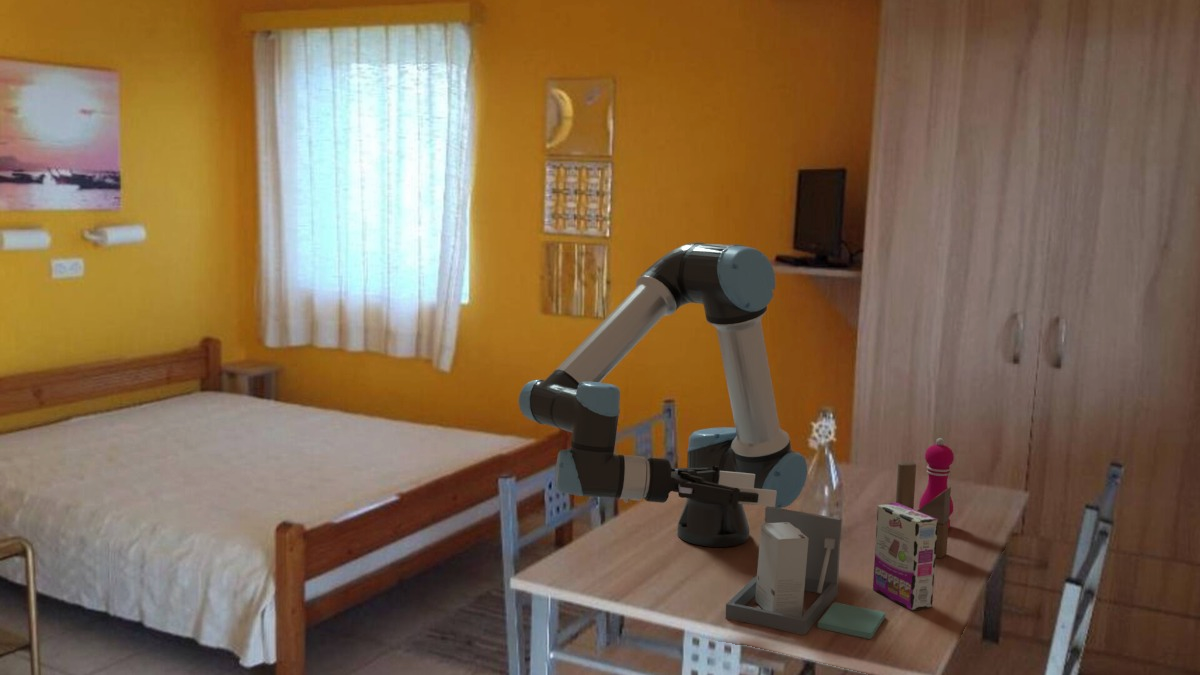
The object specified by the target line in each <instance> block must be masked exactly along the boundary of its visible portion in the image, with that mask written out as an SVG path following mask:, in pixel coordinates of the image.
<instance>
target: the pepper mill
mask: <svg viewBox="0 0 1200 675" xmlns="http://www.w3.org/2000/svg"><path fill="white" fill-rule="evenodd" d="M924 459H925V462H926V463H927V464H928V465H927V466H926V473H927V476H928V482H927V485H926V489H925V490H924V491H923V493H922V495H921V497H920V500H919V504H918V510H919V509H921V508H922V507H923V506H925V505H926V504H927V503H929V502H930V501H931V500H933V499H934V498H935V497H937V496H938V495H939V494H941V493H942V492H943V491H945V490H946V489H948V488H949V487H948V477H949V476H950V475H951V467H950V466H951V465H952V464H953V463H954V460H955V456H954V452H953V449H951V448H950V447H949V446H947V445H945V440H944V439H943V438H942V437H938V438H936V441H935V444H932V445H931V446H929V447H928V448H927V449H926V450H925V454H924ZM953 513H954V502H953V500H952V497H951V495H950V509H949V517H950V516H951V515H952V514H953ZM948 522H949V524H948V530H949V529H950V528H951V519H950V518H949V520H948Z"/></svg>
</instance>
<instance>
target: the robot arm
mask: <svg viewBox="0 0 1200 675" xmlns="http://www.w3.org/2000/svg"><path fill="white" fill-rule="evenodd" d="M775 289H776V274H775V270H774V266H773V265H772V263H771V261H770V259H769V257H768V256H766V255H765V254H764V253H763V252H762V251H761V250H759V249H757V248H754V247H750V246H745V245H742V244H721V243H719V244H718V243H706V242H705V243H704V242H691V243H687V244H684V245H683V244H682V245H681V246H678V247H676V248H674V249H673V250H671V251H669V252H668V253H666V254H664V255H663V256H662V257H661V258H659V259H658V260H657V261H655V262H654V263H653V264H651V265H650V266H649V267H648V268H647V269H645V271H644V272H643V273H642V274H641V275H640V276H639V277H638V278H637V279H636V281H635V289H633V290H632V291H631V292H630V293H629V294H628V295H627V296H626V298H624V299H623V301H622V302H620V304H619V305H618V306H617V307H615V309H613V311H612V312H610V313H609V315H607V317H605V318H604V320H602V322H601V323H600V324H599V325H598V326H596V328H595V329H594V330H593V331H592V332H591V333H590V334H589V335H588V336H587V337H586V338H585V339H584V340H583V341H582V342H581V343H580V344H579V345H578V346H577V347H576V348H575V349H574V350H573V351H572V352H571V354H569V356H567V357H566V359H564V361H562V362H561V364H559V366H558V367H557V368H556V369H554V371H552V373H551V374H549V375H548V376H547V377H546V378H545V379H533V380H531V381H529V382H527V383H526V384H525V385H523V387H522V388H521V391H520V392H519V395H518V407H519V410H520V412H521V414H522V415H523V416H524V417H525V418H527V419H529V420H531V421H533V422H535V423H537V424H538V425H539V424H540V425H546V426H549V427H553V428H556V429H557V428H558V429H560V430H563V431H566V432H569V433H571V441H570V447H569V448H567V449H561V450H559V451H558V453H557V458H556V464H555V475H554V476H555V477H554V485H555V489H556V490H557V491H558V492H559V493H561V494H568V495H572V496H573V495H574V496H580V497H582V498H583V497H590V498H591V497H594V498H605V499H606V498H608V499H617V500H618V499H620V500H623V502H624V503H625V504H627V503H630V500H632V501H642V500H643V498H644V501H646V502H649V503H651V502H652V503H660V504H661V503H663V504H664V503H667V500H668V499H669V497H670V496H669V495H670V493H671V492H674V493H678V497H680V498H682V499H686V500H685V503H684V506H683V509H682V511H681V515H680V518H679V520H678V522H677V536H678V537H679V538H680V539H681V540H682V541H684V542H687V543H689V544H692V545H696V546H700V547H701V546H702V547H710V548H711V547H713V548H726V547H727V548H728V547H729V548H730V547H735V546H738V545H743V544H744V543H747V541H749V538H750V525H749V521H748V518H747V514H746V511H745V507H744V505H750V506H759V507H760V506H761V507H767V506H768V507H774V508H780V509H785V508H786V507H788V506H790V505H792V503H794V502H795V501H796V500H797V498H799V496H800V495H801V493H802V491H803V488H804V487H805V485H806V481H807V478H808V477H807V476H808V464H807V461H806V458H805V457H804V456H803V455H802V454H800V453H799V452H798V451H794V450H793V448H792V445H791V439H790V435H789V433H788V432H787V431H786V430H783V429H782V428H781V427H780V421H779V420H780V419H779V414H778V409H777V404H776V398H775V392H774V387H773V382H772V377H771V370H770V365H769V364H770V363H769V359H768V358H769V357H768V353H767V348H766V342H765V336H764V331H763V326H762V325H763V324H762V318H763V317H764V316H765V315H766V313H767V311H768V305H769V304H770V303H771V301H772V300H773V297H774V296H775V295H774V292H773V291H774V290H775ZM693 303H694V304H699V305H702V306H703V309H704V313H705V320H706V323H708V324H710V325H711V326H713V327H714V328H715V329H716V333H717V338H718V344H719V348H720V349H719V350H720V353H721V354H720V355H721V360H722V365H723V370H724V371H723V372H724V375H725V381H726V384H727V385H726V386H727V391H728V396H729V400H730V407H731V412H732V417H733V422H734V427H731V426H730V427H729V426H727V427H726V426H725V427H721V426H720V427H710V428H702V429H698V430H695V431H692V433H691V434H690V435H689V437H688V449H687V450H686V451H687V459H686V460H687V464H686V465H687V467H672V465H671V461H669V459H667V458H656V457H649V458H648V459H646V457H645V456H642V455H641V456H639V455H630V454H629V455H628V454H627V455H626V454H615V448H616V439H617V438H616V437H617V431H618V425H619V424H618V423H619V419H620V418H619V417H620V416H619V415H620V411H621V408H620V404H621V401H620V400H621V390H620V388H619V387H618V386H617V385H615V384H611V383H606V382H603V380H604V379H605V378H606V376H608V375H609V373H611V371H612V370H613V369H614V368H616V366H618V364H619V363H620V362H622V360H623V359H624V358H625V357H626V356H627V355H628V354H629V353H630V352H631V350H632V349H634V347H636V345H637V344H638V343H639V342H640V341H641V340H642V339H643V338H644V337H646V335H647V334H648V333H649V332H650V331H651V329H653V327H654V326H656V325H657V324H658V322H660V320H661V319H662V318H663V317H664V316H672V315H673V314H674V313H675V312H677V310H678V309H679V308H680V307H682V306H684V305H687V304H693Z"/></svg>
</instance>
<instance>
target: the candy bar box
mask: <svg viewBox="0 0 1200 675" xmlns="http://www.w3.org/2000/svg"><path fill="white" fill-rule="evenodd" d="M876 517H877V518H876V533H875V545H874V548H875V550H874V561H873V562H874V563H873V565H874V566H873V579H872V580H873V583H872V590H874V591H875V592H877V593H879V594H880V595H882V596H884V597H886V598H888V599H889V600H891V601H894V602H895V603H897V604H899V605H901V606H903V607H905V608H907V609H908V610H910V611H918V610H924V609H929V608H933V600H934V598H933V597H934V596H933V595H934V585H935V584H934V583H935V581H934V580H935V571H936V570H935V568H936V558H937V557H936V540H937V526H938V519H936V518H933V517H931V516H929V515H926V514H924V513H921V512H919V511H918V510H917V509H911V508H909V507H907V506H904V505H902V504H899V503H896V502H891V503H885V504H877V515H876Z"/></svg>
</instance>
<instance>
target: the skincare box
mask: <svg viewBox="0 0 1200 675" xmlns="http://www.w3.org/2000/svg"><path fill="white" fill-rule="evenodd" d="M759 537H760V538H759V548H758V558H757V570H756V571H757V572H756V576H757V582H756V594H755V596H754V601H755V603H756V604H757V605H758V606H760V608H761V609H763V610H768V611H773V612H777V613H782V614H787V615H791V616H796V617H802V616H803V608H804V598H805V591H804V587H805V576H806V564H807V552H808V540H809V538H807V537H806V536H805V535H804V534H803V533H801V531H800V530H799V529H798V528H795V527H794V526H793V525H792V524H790V523H789V522H783V523H765V522H762V523H760V536H759Z"/></svg>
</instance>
